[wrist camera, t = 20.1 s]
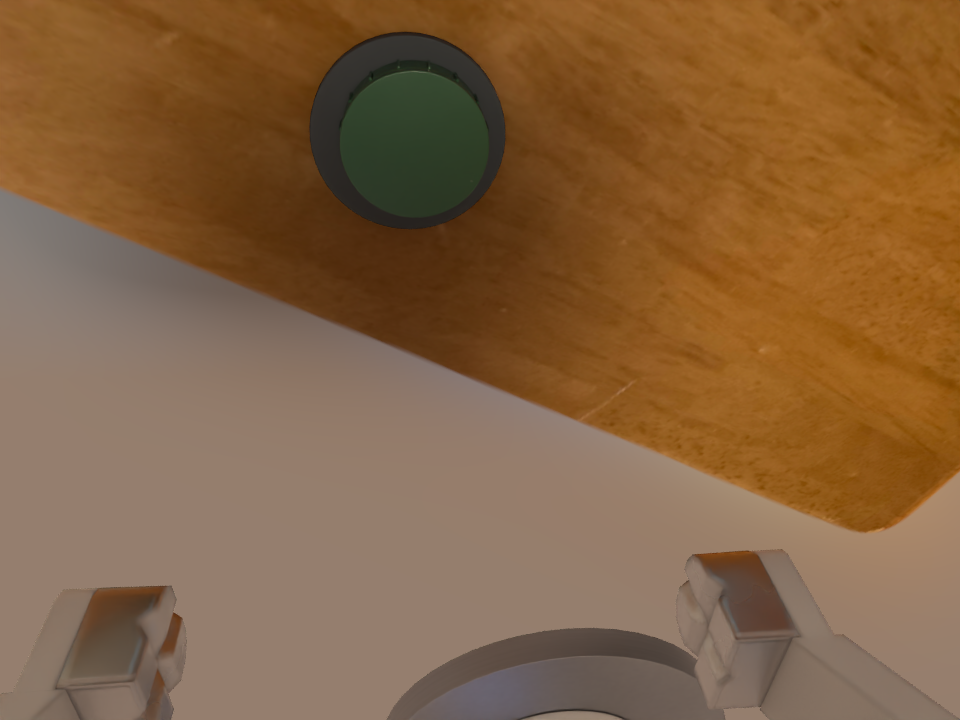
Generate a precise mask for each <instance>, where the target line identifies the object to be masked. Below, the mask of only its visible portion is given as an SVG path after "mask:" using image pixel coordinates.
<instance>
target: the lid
mask: <svg viewBox="0 0 960 720" xmlns="http://www.w3.org/2000/svg"><path fill="white" fill-rule="evenodd" d="M339 130H340V131H341V132H340V154H341V160H342V163H343V166H344V169H345V171H346V174H347V176H348V178H349V179H350V181H351V183H352V184H353V186H354V187H355V188H356V190H357V191H358V192H359V193H360V194H361V195H362V196H363V197H364V198H365V199H366V200H368V201H369V202H370V203H371V204H373V205H375V206H376V207H378V208H379V209H381V210H384V211H386V212H388V213H391V214H394V215H398V216H403V217H413V218H419V217H428V216H434V215H437V214H440V213H443V212H445V211H447V210H450V209H452V208H453V207H455V206H456V205H458V204H460V203H461V202H462V201H463V200H464V199H466V198H467V197H468V196H469V195H470V194H471V192H472V191H473V190H474V189H475V187H476V186H477V185H478V183H479V181H480V179H481V178H482V176H483V173H484V171H485V168H486V165H487V161H488V155H489V135H488V132H489V127H488V125H487V122H486V121H485V119H484V116H483V113H482V110H481V108H480V105H479V100H478V97H477V95H476V93H475V94H473V92H472V91H471V90H470V88H469V87H468V86H467V85H466V83H465V82H464V81H462V80H461V79H460V78H459V77H458V75H457V73H456V72H454V73H453V72H451V71H449V70H448V69H446V68H444V67H442V66H439V65H437V64H434V63H430V60H427V62H426V61H419V60H404V61H400V60H399V59H398V60H397V62H393V63H390V64H387V65H385V66H382V67H381V68H379V69H377V70H375V71H373V72H372V71H370V72H369V75H368V76H367V77H366V78H364V79H363V80H362V81H361V82H360V83H359V85H358V86H357V87H356V88H355V90H354V91H353V93H352V92H350V94H349V99H348V102H347V105H346V107H345V111H344V114H343V119H340V124H339Z"/></svg>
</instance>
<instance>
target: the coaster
mask: <svg viewBox="0 0 960 720" xmlns="http://www.w3.org/2000/svg"><path fill="white" fill-rule="evenodd" d="M398 59H399V60H400V61H404V60H419V61H426V62H427V60H430V63H434V64H437V65H439V66H442V67H444V68H446V69H448V70H449V71H451V72H453V73H454V72H456V73H457V75H458V77H459V78H460V79H461V80H462V81H464V82H465V83H466V85H467V86H468V87H469V88H470V90H471V91H472V92H473V94H475V93H476V95H477V97H478V100H479V105H480V108H481V110H482V113H483V116H484V119H485V121H486V122H487V125H488V127H489V132H488V135H489V155H488V161H487V165H486V168H485V171H484V173H483V176H482V178H481V179H480V181H479V183H478V185H477V186H476V187H475V189H474V190H473V191H472V192H471V194H470V195H469V196H468V197H467V198H466V199H464V200H463V201H462V202H461V203H460V204H458V205H456V206H455V207H453V208H452V209H450V210H447V211H445V212H443V213H440V214H437V215H434V216H428V217H419V218H413V217H403V216H398V215H394V214H391V213H388V212H386V211H384V210H381V209H379V208H378V207H376V206H375V205H373V204H371V203H370V202H369V201H368V200H366V199H365V198H364V197H363V196H362V195H361V194H360V193H359V192H358V191H357V190H356V188H355V187H354V186H353V184H352V183H351V181H350V179H349V178H348V176H347V174H346V171H345V169H344V166H343V163H342V160H341V154H340V132H341V131H340V130H339V124H340V119H343V114H344V111H345V107H346V105H347V102H348V99H349V94H350V92H352V93H353V91H354V90H355V88H356V87H357V86H358V85H359V83H360V82H361V81H362V80H363V79H364V78H366V77H367V76H368V75H369V72H370V71H372V72H373V71H375V70H377V69H379V68H381V67H382V66H385V65H387V64H390V63H393V62H397V60H398ZM310 142H311V148H312V153H313V156H314V160H315V163H316V165H317V168H318V170H319V172H320V174H321V176H322V178H323V179H324V181H325V183H326V184H327V186H328V187H329V189H330V190H331V191H332V192H333V194H334V195H335V196H336V197H337V198H338V199H339V200H340V201H341V202H342V203H343V204H344V205H346V206H347V207H348V208H349V209H351V210H352V211H353V212H355V213H357V214H358V215H360V216H362V217H363V218H365V219H368V220H370V221H372V222H375V223H377V224H381V225H384V226H388V227H394V228H401V229H418V228H426V227H431V226H436V225H439V224H442V223H445V222H447V221H449V220H451V219H454V218H456V217H457V216H459V215H461V214H462V213H464V212H465V211H467V210H468V209H469V208H470V207H472V206H473V205H474V204H475V203H476V202H477V201H478V200H479V199H480V198H481V197H482V196H483V195H484V193H485V192H486V191H487V189H488V188H489V187H490V185H491V183H492V182H493V180H494V178H495V176H496V174H497V172H498V169H499V167H500V164H501V161H502V157H503V153H504V146H505V122H504V115H503V111H502V108H501V104H500V101H499V99H498V96H497V94H496V92H495V89H494V87H493V85H492V83H491V82H490V80H489V78H488V77H487V75H486V74H485V73H484V71H483V70H482V69H481V67H480V66H479V65H478V64H477V63H476V62H475V61H474V60H473V59H472V58H471V57H470V56H469V55H467V54H466V53H465V52H463V51H462V50H461V49H459V48H458V47H456V46H454V45H452V44H450V43H449V42H447V41H444V40H442V39H439V38H437V37H434V36H430V35H426V34H421V33H411V32H399V33H390V34H384V35H380V36H377V37H374V38H371V39H368V40H366V41H364V42H362V43H360V44H358V45H356V46H354V47H353V48H352V49H350V50H349V51H348V52H346V53H345V54H344V55H343V56H341V57H340V58H339V59H338V60H337V61H336V62H335V63H334V65H333V66H332V67H331V68H330V70H329V71H328V72H327V74H326V75H325V77H324V79H323V80H322V82H321V84H320V86H319V89H318V91H317V94H316V96H315V99H314V103H313V107H312V111H311V118H310Z"/></svg>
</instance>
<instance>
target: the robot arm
mask: <svg viewBox="0 0 960 720" xmlns="http://www.w3.org/2000/svg"><path fill="white" fill-rule="evenodd" d="M685 572H686V574H687V577H688V579H689V580H688V581H687V582H686V583H684V584H683V585H682V586H680V588H679V591H678V595H677V599H676V618H677V623H678V627H679V631H680V634H681V637H682V640H683V643H684V645H685V646H686V647H687V648H688V649H690V651H692V652H693V653H694V654H695V655H696V656H697V657H698V660H697V662H696V665H695V668H694V673H695V675H696V678H697V680H698V683H699V686H700V688H701V691H702V694H703V696H704V699H705V702H706V704H707V707H708V710H709V709H728V708H746V707H761V708H760V710H761V711H762V712H763V713H764V714H765V715H766V717H767V718H769V719H770V720H960V719H959V718H957V717H956V716H954V715H953V714H952V713H950V712H949V711H947V710H946V709H945V708H943V707H942V706H941V705H939V704H938V703H937V702H935V701H934V700H932V699H931V698H929V697H928V696H927V695H926V694H924V693H923V692H921V691H920V690H919V689H917V688H916V687H915V686H913V685H912V684H910V683H909V682H908V681H906V680H905V679H903V678H902V677H901V676H900V675H898V674H897V673H895V672H894V671H893V670H891V669H890V668H888V667H887V666H886V665H884V664H883V663H882V662H880V661H879V660H877V659H876V658H875V657H873V656H872V655H871V654H869V653H868V652H867V651H865V650H864V649H862V648H861V647H860V646H858V645H857V644H856V643H854V642H853V641H851V640H850V639H849V638H847V637H846V636H844V635H834V633H833V632H832V630H831V628H830V626H829V625H828V623H827V621H826V619H825V618H824V616H823V614H822V613H821V611H820V609H819V607H818V605H817V604H816V602H815V600H814V599H813V597H812V595H811V593H810V592H809V590H808V588H807V586H806V585H805V583H804V581H803V579H802V578H801V576H800V575H799V573H798V571H797V569H796V567H795V566H794V564H793V562H792V561H791V559H790V557H789V555H788V554H787V553H785V552H784V551H783V550H782V549H781V550H763V551H762V550H761V551H735V552H722V553H708V554H695V555H692V556H691V557H690V558H689V559H688V560H687V563H686V567H685ZM175 604H176V597H175V594H174V591H173V589H172V586H146V587H114V588H88V589H69V590H68V589H67V590H63V591H62V592H61V593H60V595H59V596H58V597H57V598H56V599H55V600H54V602H53V605H52V606H51V609H50V611H49V613H48V615H47V618H46V620H45V622H44V624H43V627H42V629H41V631H40V633H39V636H38V637H37V640H36V642H35V644H34V646H33V649H32V651H31V653H30V655H29V657H28V660H27V662H26V665H25V666H24V668H23V671H22V673H21V675H20V677H19V680H18V682H17V684H16V686H15V688H14V691H13V692H11V693H2V694H1V695H0V720H171V717H172V714H173V710H174V708H173V706H172V703H171V700H170V697H169V694H168V693H169V692H170V691H171V690H172V689H173V688H174V687H175V686H176V685H177V684H178V683H179V682H180V681H181V678H182V674H183V669H184V665H185V658H186V644H187V640H186V629H185V625H184V622H183V619H182V618H181V617H180V616H178V615H177V614H175V613H174V612H173V611H174V607H175ZM521 720H624V719H621V718H619V717H616V716H613V715H610V714H605V713H600V712H592V711H561V712H552V713H546V714H540V715H536V716H532V717H528V718H524V719H521Z"/></svg>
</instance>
